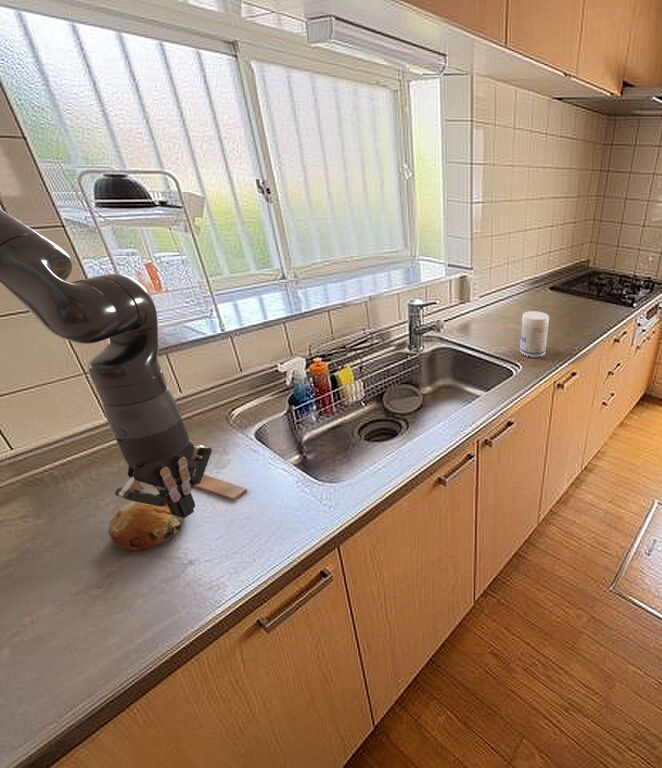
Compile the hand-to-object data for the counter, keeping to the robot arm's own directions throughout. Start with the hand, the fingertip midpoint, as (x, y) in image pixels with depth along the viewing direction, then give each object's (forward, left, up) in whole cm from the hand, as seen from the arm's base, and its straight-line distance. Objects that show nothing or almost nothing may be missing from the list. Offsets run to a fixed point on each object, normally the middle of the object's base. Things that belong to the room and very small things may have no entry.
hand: (185, 513), depth 67 cm
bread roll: (-11, 0, -8) cm, 13 cm away
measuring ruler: (-17, +12, -8) cm, 22 cm away
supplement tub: (+26, +107, -8) cm, 110 cm away
